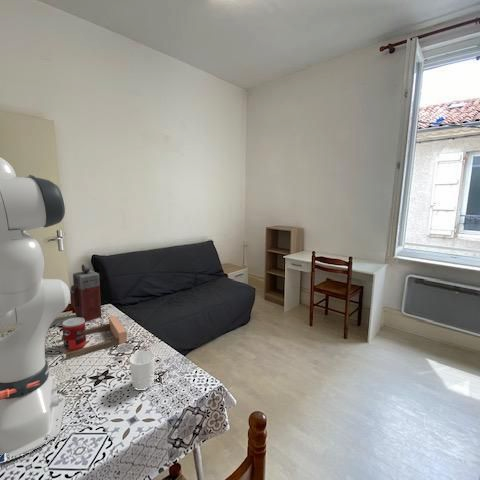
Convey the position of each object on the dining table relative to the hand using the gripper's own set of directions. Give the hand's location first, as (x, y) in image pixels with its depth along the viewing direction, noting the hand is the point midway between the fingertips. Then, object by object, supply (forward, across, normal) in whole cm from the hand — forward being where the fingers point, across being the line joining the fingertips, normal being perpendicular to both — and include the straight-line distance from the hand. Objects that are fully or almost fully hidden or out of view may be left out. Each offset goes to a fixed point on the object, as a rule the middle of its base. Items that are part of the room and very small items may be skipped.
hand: (17, 274), depth 93 cm
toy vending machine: (+40, +25, +21) cm, 52 cm away
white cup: (+45, -6, -36) cm, 58 cm away
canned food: (+38, +4, +4) cm, 38 cm away
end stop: (+44, +17, -5) cm, 47 cm away
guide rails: (+40, +9, +1) cm, 41 cm away
